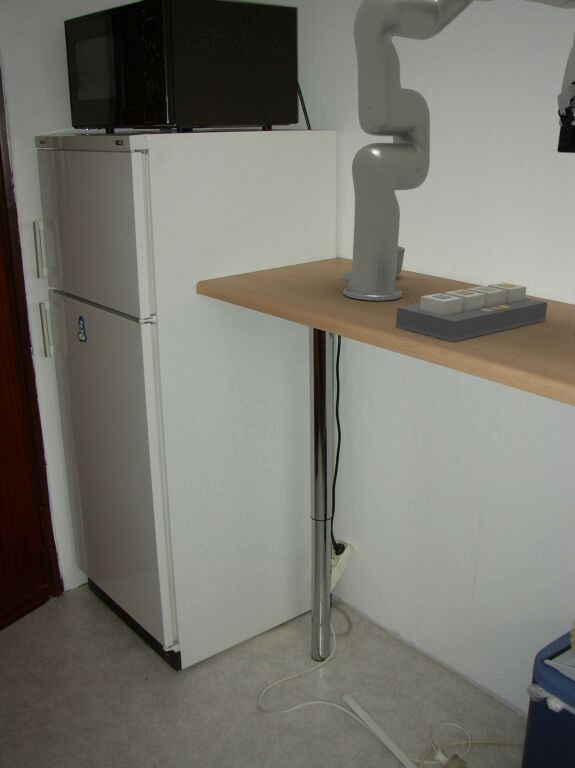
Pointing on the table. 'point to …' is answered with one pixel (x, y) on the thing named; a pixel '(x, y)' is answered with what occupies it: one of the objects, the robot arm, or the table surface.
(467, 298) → the key terracotta
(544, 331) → the table surface
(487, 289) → the key sage
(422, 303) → the key slate
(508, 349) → the table surface
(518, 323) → the keypad base
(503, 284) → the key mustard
